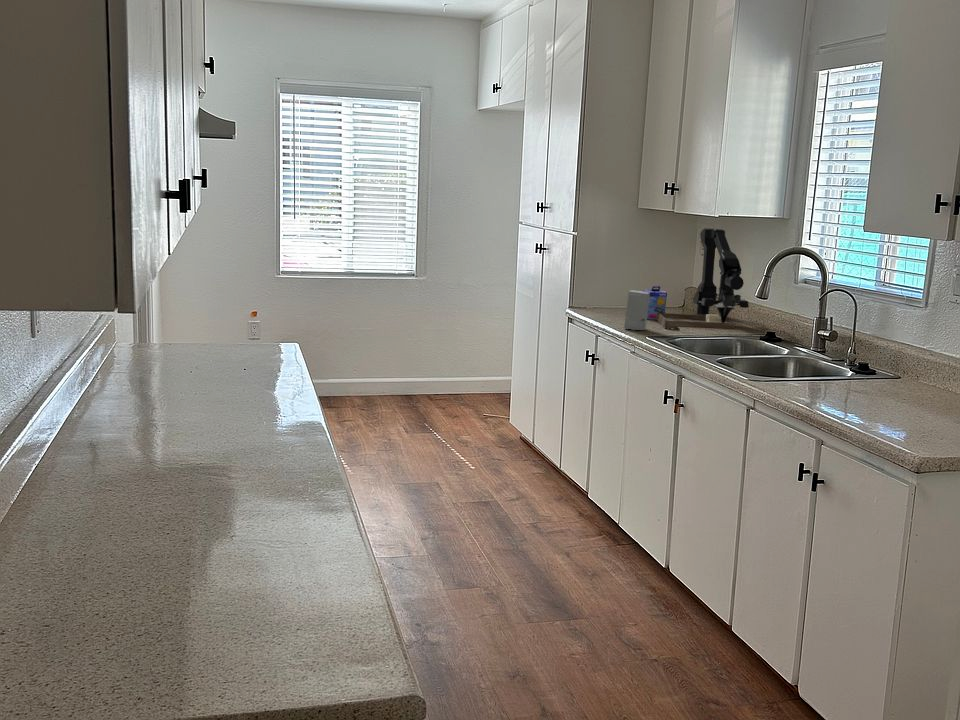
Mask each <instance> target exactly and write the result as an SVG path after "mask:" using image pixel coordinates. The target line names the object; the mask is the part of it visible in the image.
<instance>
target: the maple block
mask: <svg viewBox="0 0 960 720" xmlns="http://www.w3.org/2000/svg"><path fill="white" fill-rule="evenodd" d="M705 322H716V323H720V322H721V317H720V314H710V313H709V314H706V320H705Z"/></svg>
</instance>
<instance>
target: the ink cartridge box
mask: <svg viewBox="0 0 960 720" xmlns="http://www.w3.org/2000/svg"><path fill="white" fill-rule="evenodd" d="M642 291H643V292H650V296H649V304H648V312H647V320H657V317H658V313H666V307H667V306H666V305H667V298H668V292H667V291H665V290H661V285H658V286H657V285H655V286H654V285H653V286H652V288H651V289H643V290H642Z"/></svg>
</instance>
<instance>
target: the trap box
mask: <svg viewBox="0 0 960 720" xmlns="http://www.w3.org/2000/svg"><path fill="white" fill-rule="evenodd" d="M656 320H657V323H659V324H660V326H661V327H663V328H664V327H665V328H675V329H674V330H680V327H689V328H690V327H697V328H712V329H713V328H715V329H733V330H735V329H736V323H735V322H734V323H733V322H727V321H725V322H724V323H722V322H720V323H716V322H706V315H696V314H691V313H690V314H689V313H688V314H687V313H669V312H668V313H666V312H665V313H658V317H657V319H656ZM694 320H695V321H694ZM697 320H698V321H697ZM665 328H664V329H665Z"/></svg>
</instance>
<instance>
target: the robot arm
mask: <svg viewBox="0 0 960 720" xmlns="http://www.w3.org/2000/svg"><path fill="white" fill-rule="evenodd" d="M699 238H700V243H701V245H702V247H703V261H702V263H703V264H702V275H701V281H700V283H699V284H698V286H697V290H696V293H695V294H694V296H693V297H692V303H693V304H696V312H695V315H706V314H710V312H711V310H710V309H711V307H713V306H714V307H715V308H716V309H717V312H718V313H719V314H718V315H719V316H720V317H721V322H722V323H724V322H726V320H727V317H728V315H729V314H730V312H731V311H732V310H735V306H739V307H740V308H743V309H745V308H746V309H749V305H750V304H749V301H748V300H746V299H743V298H742V297H741V294H735V293H734V292H735V291H738V290H741V289H742V288H743V286H744V279H743V278H742V277H741V274H742V267H741V263H740V260H739V258H738V257H737V254H736V253H734V252H732V250H731V248H730V245H729V242H728V240H727V238H726V230H725V229H720V228H705V227H704V228H703V229H702V230H701V231H700V234H699ZM716 249H717V252H718V255H719V259H718V267H719V269H720V272H719V274H720V280H719V287H718V288H717V286H716V284H715V283H714V270H715V258H716V257H715V255H716ZM717 290H718V292H717ZM717 296H718V297H717Z"/></svg>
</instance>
